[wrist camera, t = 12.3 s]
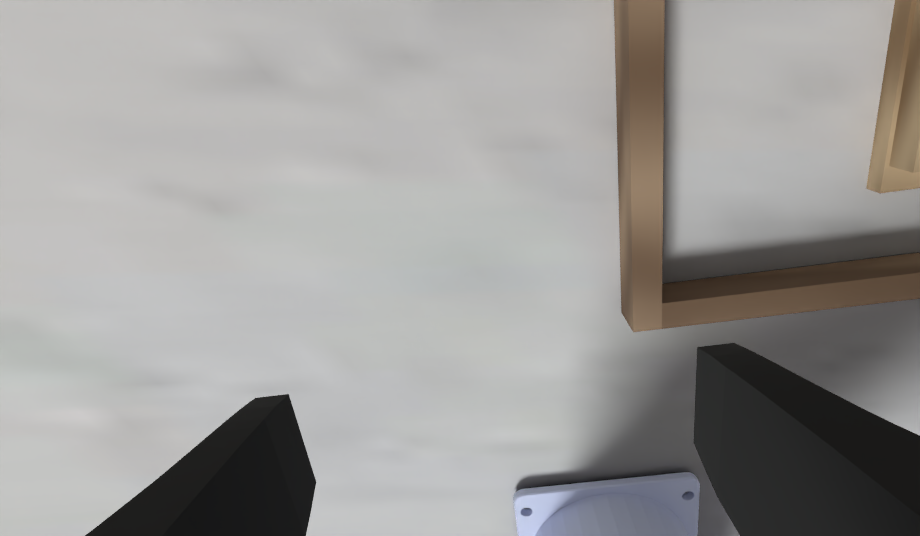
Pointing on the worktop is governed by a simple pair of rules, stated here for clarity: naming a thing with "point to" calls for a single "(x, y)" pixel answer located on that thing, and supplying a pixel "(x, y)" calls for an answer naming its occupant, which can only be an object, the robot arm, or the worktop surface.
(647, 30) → the brown flat square frame
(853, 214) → the worktop surface
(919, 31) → the offcut stack
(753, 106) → the worktop surface
